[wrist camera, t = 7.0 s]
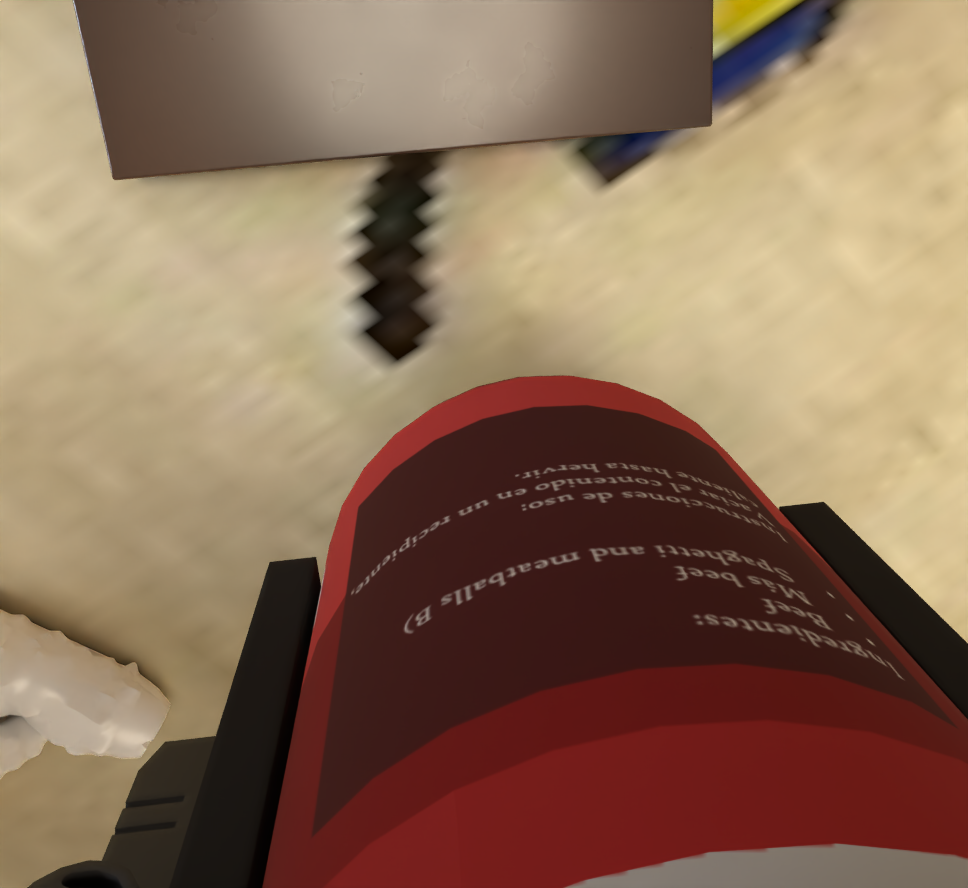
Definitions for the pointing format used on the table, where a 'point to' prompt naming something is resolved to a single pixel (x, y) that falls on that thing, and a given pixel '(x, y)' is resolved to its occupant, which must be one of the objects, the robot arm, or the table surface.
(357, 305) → the table surface
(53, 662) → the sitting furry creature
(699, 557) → the canned food
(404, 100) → the brown metal board
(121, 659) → the table surface
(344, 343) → the table surface
